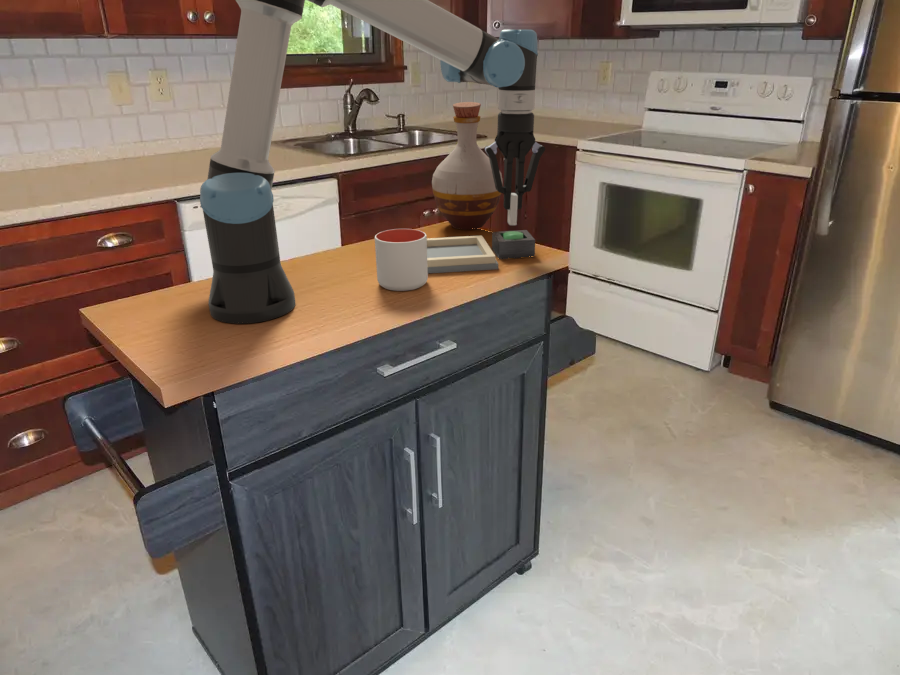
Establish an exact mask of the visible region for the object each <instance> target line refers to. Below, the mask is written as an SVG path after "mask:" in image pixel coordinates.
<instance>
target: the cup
mask: <svg viewBox="0 0 900 675" xmlns="http://www.w3.org/2000/svg"><path fill="white" fill-rule="evenodd" d="M427 238H428V236H427V234H426V232H424V231H423V230H419V229H412V228H394V229H387V230H383V231H380V232H378V233H377V234H375V235H374V246H375V247H374V251H375V263H376V264H375V265H376V279H377V283H378V284H379V286H381V287H382V288H384V289H386V290H388V291H389V290H390V291H395V292H406V291H407V292H408V291H413V290H416V289H419V288H421V287H423V286H424V285H425V284H426V283H427V281H428V277H429V273H428V267H427Z"/></svg>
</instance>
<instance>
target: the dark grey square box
mask: <svg viewBox="0 0 900 675" xmlns="http://www.w3.org/2000/svg"><path fill="white" fill-rule="evenodd" d="M510 231H511V230H503V231H501V230H499V231H491V233H492V234H491V250H492V251H493V253H494V254H495V256H496V257H497V258H499V259H498V260H509V259H508V258H514V259H522V258H521V257H529V256H530V257H531V256H536V255H535V254H536V239H535V238H534V236H533V235H532V234H531V233H530V232H529V231H528V230H527V229H523V230H518V229H517V230H515V231H516V232H521V233H523V239H505V240H504V239H503V234H504V233H505V232H510ZM531 258H532V257H531Z"/></svg>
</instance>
